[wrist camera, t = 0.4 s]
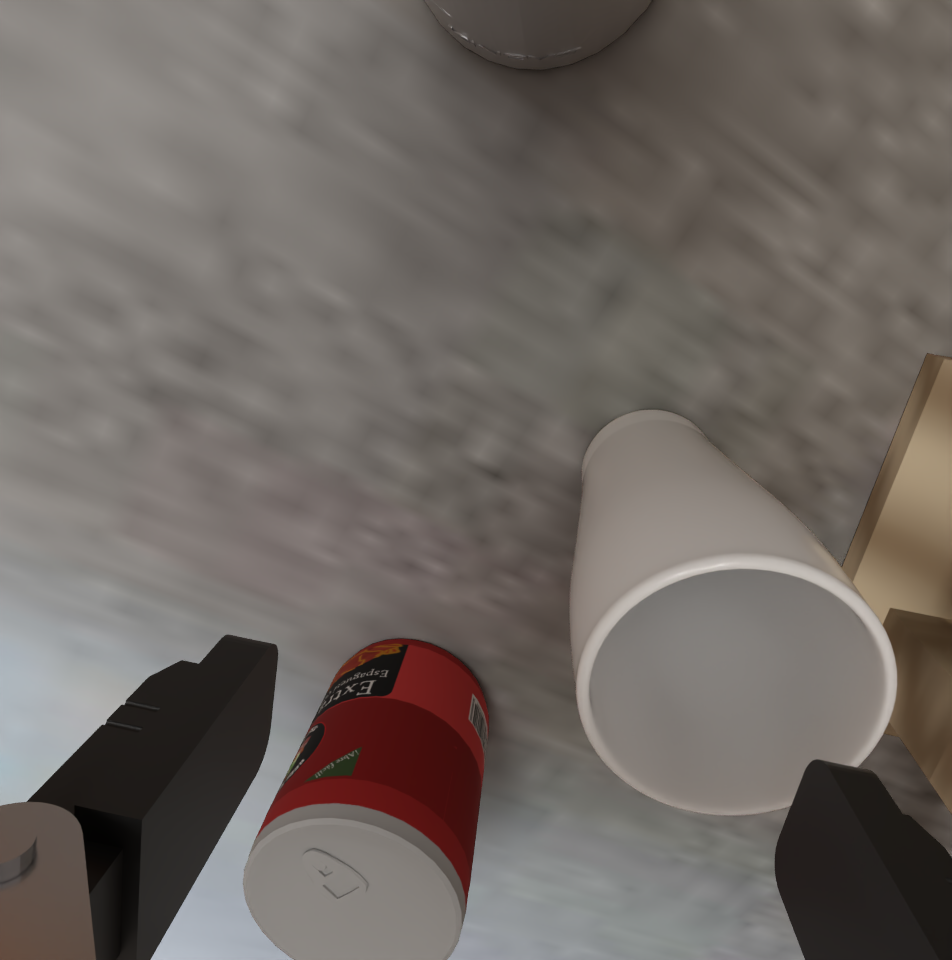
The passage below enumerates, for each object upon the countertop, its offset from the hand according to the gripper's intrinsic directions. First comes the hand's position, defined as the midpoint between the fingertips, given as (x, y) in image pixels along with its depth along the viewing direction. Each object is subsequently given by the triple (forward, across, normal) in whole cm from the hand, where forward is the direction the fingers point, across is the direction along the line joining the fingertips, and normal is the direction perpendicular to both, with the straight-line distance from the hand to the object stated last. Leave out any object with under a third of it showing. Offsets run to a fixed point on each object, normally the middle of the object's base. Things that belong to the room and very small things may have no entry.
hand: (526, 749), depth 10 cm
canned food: (+20, +3, +14) cm, 25 cm away
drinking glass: (+20, -5, 0) cm, 20 cm away
